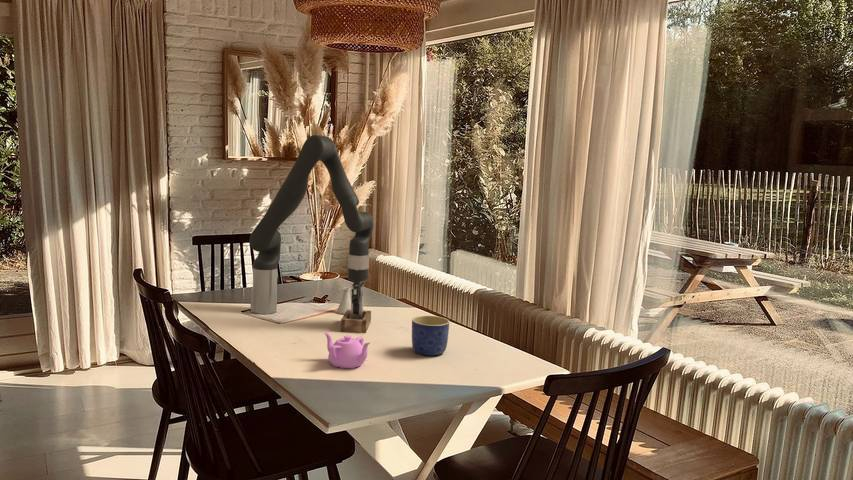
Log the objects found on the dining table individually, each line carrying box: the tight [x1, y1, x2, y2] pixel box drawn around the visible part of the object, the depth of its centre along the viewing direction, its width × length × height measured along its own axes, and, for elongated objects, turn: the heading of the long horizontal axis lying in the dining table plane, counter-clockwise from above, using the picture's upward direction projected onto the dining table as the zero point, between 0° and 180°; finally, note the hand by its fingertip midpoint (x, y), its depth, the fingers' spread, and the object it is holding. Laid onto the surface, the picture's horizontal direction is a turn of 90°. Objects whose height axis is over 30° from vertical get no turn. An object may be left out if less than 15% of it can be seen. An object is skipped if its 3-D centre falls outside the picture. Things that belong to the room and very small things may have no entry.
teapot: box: [323, 331, 371, 369], centre depth 217 cm, size 12×14×9 cm
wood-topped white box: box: [350, 293, 365, 320], centre depth 258 cm, size 4×4×9 cm
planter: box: [411, 315, 450, 356], centre depth 233 cm, size 12×12×11 cm
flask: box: [336, 286, 352, 315], centre depth 279 cm, size 7×7×10 cm
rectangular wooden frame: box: [340, 309, 372, 334], centre depth 259 cm, size 9×15×4 cm, turn 177°
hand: (356, 312), depth 259 cm, fingers closed on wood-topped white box, 4 cm apart
